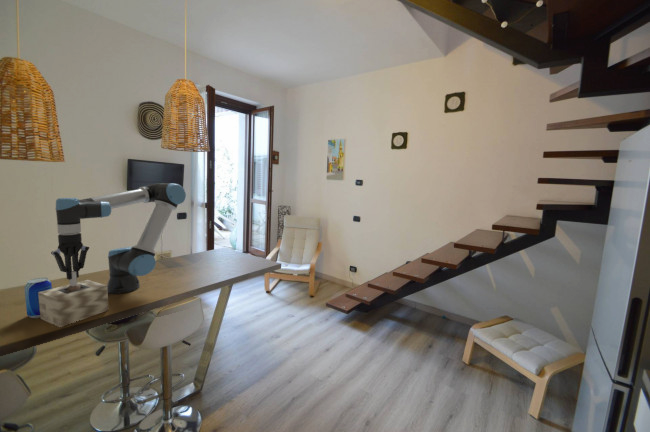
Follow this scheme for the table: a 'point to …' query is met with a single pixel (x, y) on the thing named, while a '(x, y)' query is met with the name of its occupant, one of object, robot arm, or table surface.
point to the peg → (74, 288)
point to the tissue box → (73, 303)
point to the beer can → (35, 295)
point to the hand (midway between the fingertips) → (73, 285)
